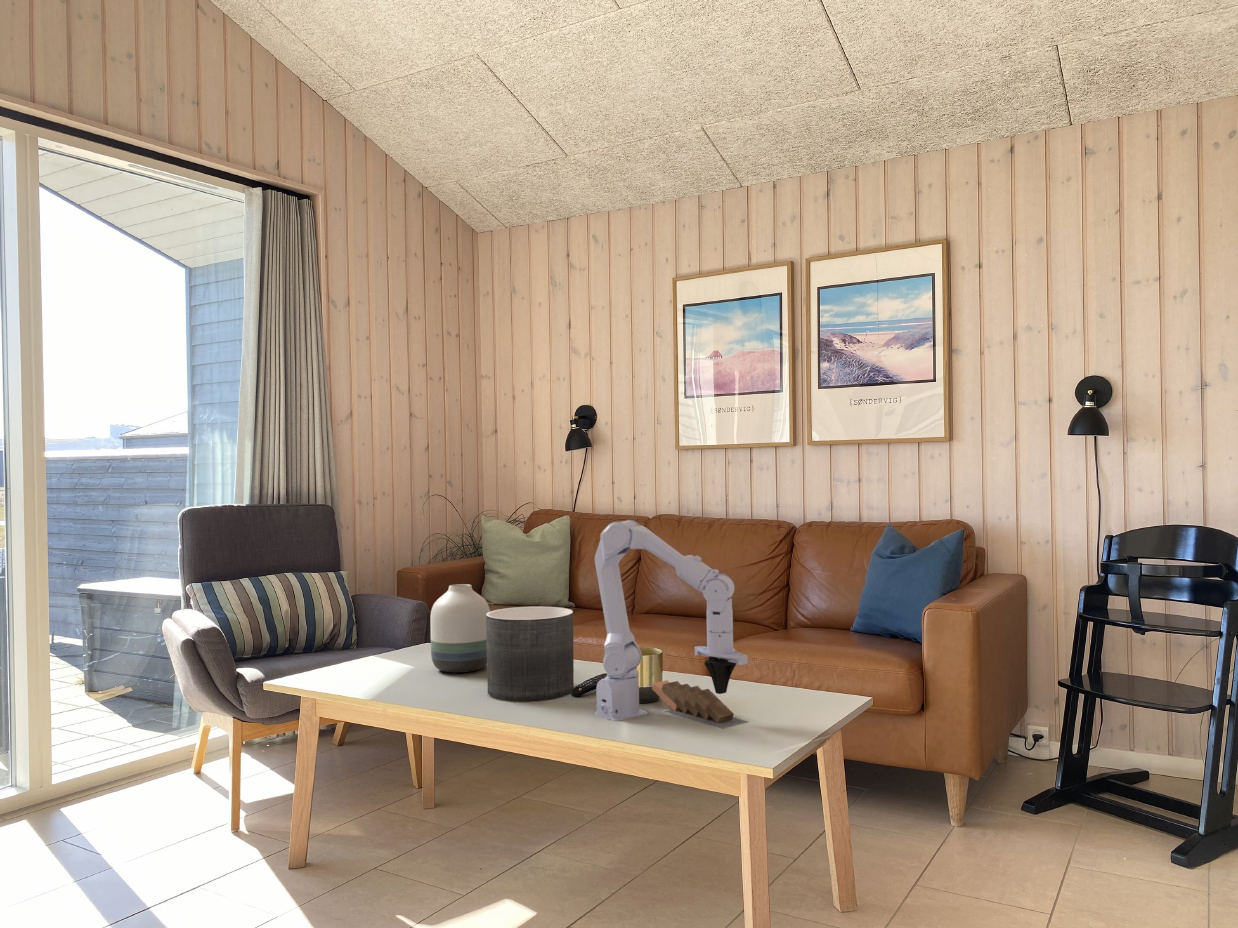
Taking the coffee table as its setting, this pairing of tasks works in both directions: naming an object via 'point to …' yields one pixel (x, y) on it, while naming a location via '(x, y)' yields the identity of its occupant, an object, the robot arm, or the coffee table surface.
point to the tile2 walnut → (688, 694)
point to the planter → (530, 653)
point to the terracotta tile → (657, 689)
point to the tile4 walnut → (668, 689)
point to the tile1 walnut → (713, 705)
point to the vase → (459, 630)
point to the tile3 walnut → (677, 693)
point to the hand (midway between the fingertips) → (721, 692)
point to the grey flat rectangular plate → (710, 721)
